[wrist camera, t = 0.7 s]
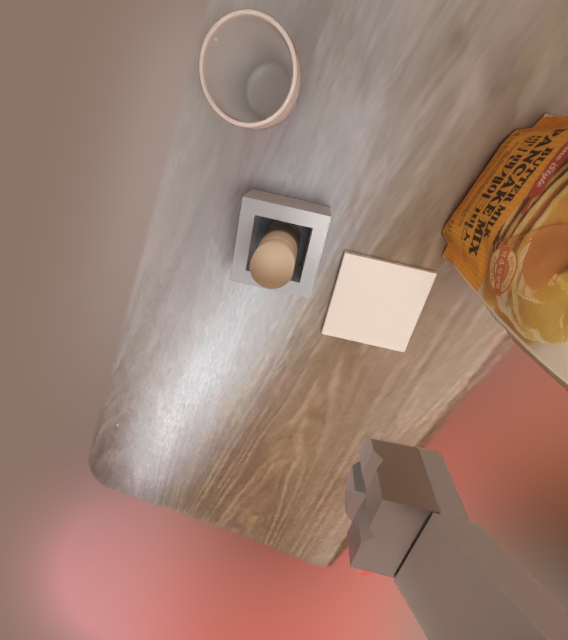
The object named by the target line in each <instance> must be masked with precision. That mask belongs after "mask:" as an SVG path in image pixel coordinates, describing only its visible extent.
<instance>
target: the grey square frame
mask: <svg viewBox="0 0 568 640" xmlns="http://www.w3.org/2000/svg"><path fill="white" fill-rule="evenodd" d="M261 216H262V217H266V218H270V219H275V220H279V221H283V222H288V223H292V224H296V225H301V226H305V227H309V228H311V231H310V235H309V239H308V243H307V248H306V252H305V256H304V260H303V264H302V265H297V264H295V266H294V271H293V275H292V278H291V279H290V281H289V282H288V283H287V284H286V285H284V286H283V287H280V288H277V289H271V290H275V291H280V292H284V293H289V294H293V295H297V296H302V297H306V298H310V297H311V293H312V289H313V285H314V281H315V278H316V274H317V270H318V266H319V262H320V259H321V255H322V251H323V247H324V243H325V239H326V236H327V232H328V228H329V224H330V220H331V210H330V207H329V206H325V205H321V204H316V203H312V202H308V201H303V200H299V199H295V198H290V197H286V196H282V195H277V194H273V193H269V192H265V191H260V190H256V189H251V190H250V191H249V192H248V193H246V194H245V195H244V196H243V197H242V204H241V210H240V217H239V224H238V230H237V237H236V243H235V250H234V256H233V263H232V270H231V276H230V280H231V281H236V282H240V283H245V284H249V285H253V286H258V287H262V286H260V285H259V284H257V283H256V282H255V280H254V279H253V278H252V276H251V273H250V267H249V266H250V260H251V258H252V256H253V254H254V253H255V247H256V242H257V236H258V230H259V225H260V219H261ZM262 288H264V287H262ZM267 289H268V288H267Z"/></svg>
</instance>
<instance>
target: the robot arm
mask: <svg viewBox="0 0 568 640" xmlns="http://www.w3.org/2000/svg"><path fill="white" fill-rule="evenodd" d="M359 455H360V462H358V463H356V464H354V465H353V466H352V468H351V471H350V473H349V476H348V480H347V485H346V490H345V510H346V514H347V515H348V517H349V518H350V519H351V521H352V523H351V526H350V528H349V530H348V533H347V536H348V547H349V557H350V566H351V567H354V568H358V569H362V570H365V571H369V572H373V573H377V574H381V575H385V576H389V577H392V578H395V579H394V582H395V583H396V585H397V587H398V589H399V590H400V592H401V594H402V595H403V597H404V599H405V600H406V602H407V604H408V606H409V607H410V609H411V611H412V612H413V614H414V616H415V618H416V619H417V621H418V623H419V624H420V626H421V627H422V629H423V631H424V633H425V634H426V636H427V638H428V640H568V612H567V611H566V610H565V609H564V608H563V607H562V606H561V605H560V604H559V603H558V602H557V601H556V600H555V599H554V598H553V597H552V596H551V595H550V594H549V593H548V592H547V591H546V590H545V589H544V588H543V587H542V586H541V585H540V584H539V583H538V582H537V581H536V580H535V579H534V578H533V577H532V576H531V575H530V574H529V573H528V572H527V571H526V570H525V569H524V568H523V567H522V566H521V565H520V564H519V563H518V562H517V561H516V560H515V559H514V558H513V557H512V556H511V555H510V554H509V553H508V552H507V551H506V550H505V549H504V548H503V547H501V545H500V544H499V543H498V542H497V541H496V540H495V539H493V538H492V537H491V536H490V534H489V533H487V532H486V531H485V530H484V529H483V528H482V527H481V526H480V525H479V524H478V523H475V522H471V521H470V520H469V517H468V515H467V513H466V510H465V508H464V506H463V503H462V501H461V498H460V496H459V494H458V491H457V489H456V486H455V484H454V482H453V479H452V477H451V475H450V472H449V470H448V468H447V465H446V463H445V460H444V458H443V456H442V455H441V454H440V453H439V452H438V451H434V450H429V449H425V448H420V447H415V446H414V447H412V446H408V445H403V444H399V443H395V442H390V441H386V440H382V439H377V438H373V437H369V436H366V438H365V439H364V440H363V442H362V444H361V446H360V449H359Z"/></svg>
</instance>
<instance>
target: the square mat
mask: <svg viewBox="0 0 568 640" xmlns="http://www.w3.org/2000/svg"><path fill="white" fill-rule="evenodd" d="M436 275H437V273H436V272H435V271H432V270H428V269H423V268H419V267H414V266H410V265H406V264H401V263H397V262H393V261H388V260H384V259H380V258H375V257H371V256H367V255H362V254H358V253H354V252H349V251H344V255H343V258H342V262H341V265H340V269H339V272H338V276H337V279H336V282H335V286H334V289H333V293H332V296H331V300H330V303H329V307H328V310H327V314H326V317H325V320H324V324H323V327H322V334H326V335H330V336H335V337H339V338H343V339H348V340H352V341H357V342H361V343H365V344H370V345H374V346H379V347H383V348H387V349H392V350H396V351H401V352H405V349H406V347H407V344H408V342H409V340H410V337H411V335H412V332H413V330H414V328H415V325H416V323H417V320H418V318H419V316H420V313H421V311H422V308H423V306H424V304H425V301H426V299H427V296H428V294H429V292H430V289H431V287H432V284H433V282H434V280H435V277H436Z"/></svg>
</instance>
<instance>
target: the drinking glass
mask: <svg viewBox="0 0 568 640" xmlns="http://www.w3.org/2000/svg"><path fill="white" fill-rule="evenodd" d="M199 76H200V81H201V85H202V89H203V91H204V94H205V96H206V98H207V100H208V102H209V103H210V105H211V106H212V108H213V109H214V110H215V111H216V112H217V113H218V114H219V115H220V116H221V117H222V118H223V119H225V120H226V121H228V122H230V123H232V124H234V125H237V126H239V127H243V128H247V129H265V128H269V127H272V126H274V125H276V124H278V123H280V122H281V121H283V120H285V119H286V118H288V117H289V116H290V115H291V113H292V112H293V111H294V109H295V107H296V105H297V101H298V96H299V92H300V85H301V70H300V64H299V59H298V56H297V53H296V50H295V48H294V46H293V43H292V42H291V40H290V38H289V36H288V34H287V33H286V31H285V30H284V29H283V27H282V26H281V25H280V24H279V23H278V22H277V21H276V20H275V19H273V18H272V17H270V16H269V15H267V14H265V13H263V12H260V11H257V10H252V9H241V10H236V11H233V12H230V13H228V14H226V15H225V16H223V17H222V18H220V19H219V20H218V21H217V22H216V23H215V24H214V25H213V26H212V27H211V29H210V30H209V32H208V33H207V35H206V37H205V39H204V42H203V44H202V47H201V52H200V57H199Z"/></svg>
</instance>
